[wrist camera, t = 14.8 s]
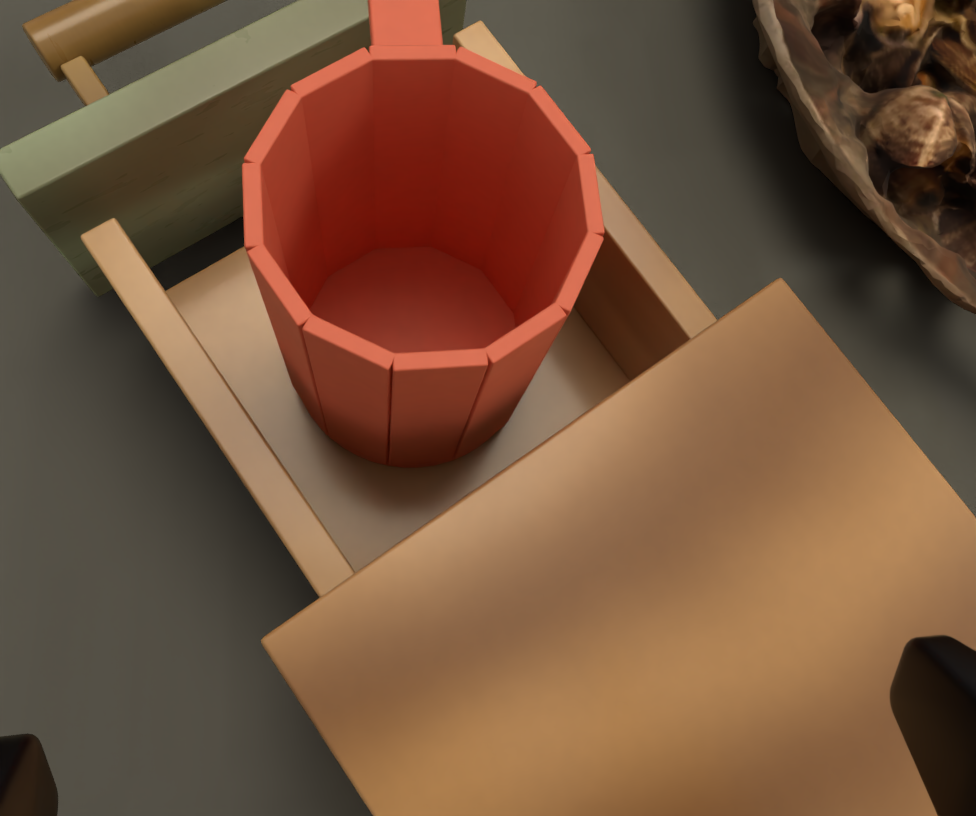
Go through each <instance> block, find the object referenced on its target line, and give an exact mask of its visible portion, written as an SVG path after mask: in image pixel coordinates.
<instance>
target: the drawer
mask: <svg viewBox="0 0 976 816" xmlns="http://www.w3.org/2000/svg"><path fill="white" fill-rule="evenodd" d="M225 1H227V0H73V1H71V2H69V3H67V4H65V5H62V6H60V7H58V8H56V9H54V10H52V11H50V12H47V13H45V14H43V15H41V16H39V17H37V18H34V19H32V20H30V21H28V22H26V23H24V24H23V25H22V27H23V30H24V32H25V34H26V35H27V37H28V39H29V40H30V42H31V44H32V45H33V47H34V48H35V50H36V52H37V53H38V55H39V56H40V58H41V59H42V61H43V62H44V64H45V65H46V67H47V68H48V70H49V71H50V73H51V74H52V76H53V77H54V78H55V80H57V81H58V82H61V81H63V80H65V79H67V81H68V82H69V84H70V85H71V87H72V88H73V90H74V91H75V93H76V94H77V96H78V97H79V98H80V100H81V101H82V103H83V104H84V106H85V107H83V108H81V109H79V110H77V111H75V112H73V113H71V114H69V115H67V116H65V117H63V118H61V119H59V120H57V121H55V122H53V123H51V124H49V125H47V126H45V127H43V128H41V129H39V130H37V131H35V132H33V133H31V134H29V135H27V136H25V137H23V138H21V139H19V140H17V141H15V142H13V143H11V144H9V145H7V146H5V147H3V148H1V149H0V175H1V177H2V178H3V180H4V181H5V183H6V184H7V186H8V187H9V189H10V190H11V192H12V193H13V195H14V196H15V198H16V199H17V201H18V202H19V203H20V204H21V205H22V207H23V208H24V209H25V210H26V211H27V213H28V214H29V215H30V216H31V218H32V219H33V220H34V221H35V222H36V224H37V225H38V226H39V227H40V229H41V230H42V231H43V232H44V233H45V235H46V236H47V237H48V238H49V239H50V241H51V242H52V243H53V244H54V246H55V247H56V248H57V249H58V250H59V252H60V253H61V254H62V255H63V256H64V258H65V259H66V260H67V261H68V263H69V264H70V265H71V266H72V267H73V269H74V270H75V271H76V272H77V273H78V275H79V276H80V277H81V278H82V280H83V281H84V282H85V283H86V284H87V286H88V287H89V288H90V289H91V291H92V292H93V293H94V294H95V295H96V296H97V297H99V296H101V295H103V294H105V293H106V292H108V291H110V290H112V289H114V290H115V291H116V293H117V294H118V296H119V297H120V299H121V300H122V302H123V303H124V305H125V306H126V308H127V309H128V311H129V312H130V314H131V315H132V317H133V318H134V320H135V321H136V323H137V324H138V326H139V327H140V329H141V330H142V332H143V333H144V335H145V336H146V338H147V339H148V341H149V342H150V344H151V345H152V347H153V348H154V350H155V351H156V353H157V354H158V356H159V357H160V359H161V360H162V362H163V363H164V365H165V366H166V368H167V369H168V371H169V372H170V374H171V375H172V377H173V378H174V380H175V381H176V383H177V384H178V386H179V387H180V389H181V390H182V392H183V393H184V395H185V396H186V398H187V399H188V401H189V402H190V404H191V405H192V407H193V408H194V410H195V411H196V413H197V414H198V416H199V417H200V419H201V420H202V422H203V423H204V425H205V426H206V428H207V429H208V431H209V432H210V434H211V435H212V437H213V438H214V440H215V441H216V443H217V444H218V446H219V447H220V449H221V450H222V452H223V453H224V455H225V456H226V458H227V459H228V461H229V462H230V464H231V465H232V467H233V468H234V470H235V471H236V473H237V474H238V476H239V478H240V479H241V481H242V482H243V484H244V485H245V487H246V488H247V490H248V491H249V493H250V494H251V496H252V497H253V499H254V500H255V502H256V503H257V505H258V506H259V508H260V509H261V511H262V512H263V514H264V515H265V517H266V518H267V520H268V521H269V523H270V524H271V526H272V527H273V529H274V530H275V532H276V533H277V535H278V536H279V538H280V539H281V541H282V542H283V544H284V545H285V547H286V548H287V550H288V551H289V553H290V554H291V556H292V557H293V559H294V560H295V562H296V563H297V565H298V566H299V568H300V569H301V571H302V572H303V574H304V575H305V577H306V578H307V580H308V581H309V583H310V584H311V586H312V587H313V589H314V590H315V592H316V593H317V595H318V596H319V598H320V597H321V596H323V595H324V594H326V593H327V592H328V591H330V590H331V589H333V588H334V587H336V586H337V585H338V584H340V583H341V582H343V581H344V580H346V579H347V578H349V577H350V576H351V575H353V574H354V573H356V572H357V571H359V570H360V569H361V568H363V567H364V566H366V565H367V564H369V563H370V562H371V561H373V560H374V559H376V558H377V557H379V556H380V555H381V554H383V553H384V552H386V551H387V550H389V549H390V548H392V547H393V546H394V545H396V544H397V543H399V542H400V541H402V540H403V539H404V538H406V537H407V536H409V535H410V534H412V533H413V532H414V531H416V530H417V529H419V528H420V527H422V526H423V525H425V524H426V523H427V522H429V521H430V520H432V519H433V518H435V517H436V516H437V515H439V514H440V513H442V512H443V511H445V510H446V509H447V508H449V507H450V506H452V505H453V504H455V503H456V502H457V501H459V500H460V499H462V498H463V497H465V496H466V495H468V494H469V493H470V492H472V491H473V490H475V489H476V488H478V487H479V486H480V485H482V484H483V483H485V482H486V481H488V480H489V479H490V478H492V477H493V476H495V475H496V474H498V473H499V472H501V471H502V470H503V469H505V468H506V467H508V466H509V465H511V464H512V463H513V462H515V461H516V460H518V459H519V458H521V457H522V456H523V455H525V454H526V453H528V452H529V451H531V450H532V449H534V448H535V447H536V446H538V445H539V444H541V443H542V442H544V441H545V440H546V439H548V438H549V437H551V436H552V435H554V434H555V433H556V432H558V431H559V430H561V429H562V428H564V427H565V426H566V425H568V424H569V423H571V422H572V421H574V420H575V419H577V418H578V417H579V416H581V415H582V414H584V413H585V412H587V411H588V410H589V409H591V408H592V407H594V406H595V405H597V404H598V403H599V402H601V401H602V400H604V399H605V398H607V397H608V396H610V395H611V394H612V393H614V392H615V391H617V390H618V389H620V388H621V387H622V386H624V385H625V384H627V383H628V382H630V381H631V380H632V379H634V378H635V377H637V376H638V375H640V374H641V373H642V372H644V371H645V370H647V369H648V368H650V367H651V366H653V365H654V364H655V363H657V362H658V361H660V360H661V359H663V358H664V357H665V356H667V355H668V354H670V353H671V352H673V351H674V350H675V349H677V348H678V347H680V346H681V345H683V344H684V343H686V342H687V341H688V340H690V339H691V338H693V337H694V336H696V335H697V334H698V333H700V332H701V331H703V330H704V329H706V328H707V327H708V326H710V325H711V324H713V323H714V322H716V321H717V319H716V318H715V316H714V315H713V314H712V313H711V311H710V310H709V309H708V308H707V306H706V305H705V304H704V302H703V301H702V300H701V299H700V297H699V296H698V295H697V294H696V292H695V291H694V290H693V289H692V287H691V286H690V285H689V283H688V282H687V281H686V280H685V278H684V277H683V276H682V275H681V273H680V272H679V271H678V270H677V268H676V267H675V266H674V264H673V263H672V262H671V261H670V259H669V258H668V257H667V256H666V254H665V253H664V252H663V250H662V249H661V248H660V247H659V245H658V244H657V243H656V242H655V240H654V239H653V238H652V237H651V235H650V234H649V233H648V231H647V230H646V229H645V228H644V226H643V225H642V224H641V223H640V221H639V220H638V219H637V218H636V216H635V215H634V214H633V212H632V211H631V210H630V209H629V207H628V206H627V205H626V204H625V202H624V201H623V200H622V198H621V197H620V196H619V195H618V193H617V192H616V191H615V190H614V188H613V187H612V186H611V185H610V183H609V182H608V181H607V179H606V178H605V177H604V176H603V174H602V173H601V172H600V171H599V169H598V168H597V167H596V166H595V168H596V175H597V182H598V189H599V196H600V203H601V210H602V217H603V224H604V231H605V233H604V235H603V238H604V240H603V242H602V244H601V247H600V249H599V251H598V253H597V255H596V258H595V260H594V262H593V264H592V266H591V268H590V271H589V273H588V275H587V277H586V279H585V282H584V284H583V286H582V288H581V290H580V293H579V295H578V297H577V299H576V301H575V303H574V306H573V308H572V310H571V312H570V314H569V315H568V317H567V319H566V321H565V323H564V324H563V326H562V328H561V330H560V331H559V333H558V335H557V337H556V338H555V340H554V342H553V344H552V345H551V347H550V349H549V351H548V352H547V354H546V356H545V358H544V359H543V361H542V363H541V365H540V366H539V368H538V370H537V372H536V373H535V375H534V377H533V379H532V380H531V382H530V384H529V386H528V387H527V389H526V391H525V393H524V394H523V396H522V398H521V400H520V401H519V403H518V405H517V407H516V408H515V410H514V412H513V414H512V415H511V417H510V419H509V421H508V422H507V423H506V424H505V426H504V427H502V428H501V429H499V430H498V431H496V432H495V433H494V434H493V435H492V436H491V437H490V438H489V439H488V440H487V441H486V442H484V443H483V444H482V445H480V446H479V447H478V448H476V449H474V450H473V451H471V452H469V453H468V454H466V455H464V456H462V457H459V458H457V459H454V460H452V461H449V462H446V463H442V464H438V465H434V466H427V467H418V468H403V467H394V466H387V465H383V464H379V463H375V462H372V461H369V460H367V459H364V458H362V457H359V456H357V455H355V454H353V453H352V452H350V451H348V450H346V449H344V448H343V447H342V446H340V445H339V444H338V443H336V442H335V441H334V440H332V439H331V438H330V437H329V436H328V435H326V434H325V433H324V431H323V430H322V429H321V428H320V427H319V426H318V424H317V423H316V422H315V421H314V419H313V418H312V417H311V415H310V414H309V412H308V410H307V409H306V407H305V405H304V403H303V401H302V399H301V398H300V396H299V395H298V393H297V392H296V390H295V389H294V387H293V385H292V383H291V380H290V377H289V374H288V371H287V368H286V365H285V362H284V359H283V357H282V354H281V351H280V348H279V345H278V342H277V339H276V336H275V333H274V331H273V328H272V325H271V322H270V319H269V316H268V313H267V310H266V307H265V305H264V302H263V299H262V296H261V293H260V290H259V287H258V284H257V281H256V279H255V276H254V273H253V270H252V267H251V264H250V261H249V258H248V255H247V252H246V249H245V246H244V247H242V248H240V249H238V250H237V251H235V252H233V253H231V254H230V255H228V256H226V257H224V258H222V259H221V260H219V261H217V262H215V263H214V264H212V265H210V266H208V267H207V268H205V269H203V270H201V271H200V272H198V273H196V274H194V275H193V276H191V277H189V278H187V279H186V280H184V281H182V282H180V283H179V284H177V285H175V286H173V287H171V288H170V289H168V290H166V291H165V290H164V289H163V287H162V286H161V284H160V283H159V281H158V280H157V278H156V277H155V275H154V274H153V272H152V271H151V269H150V268H151V267H153V266H155V265H157V264H158V263H160V262H162V261H164V260H165V259H167V258H169V257H171V256H173V255H174V254H176V253H178V252H180V251H182V250H183V249H185V248H187V247H189V246H191V245H192V244H194V243H196V242H198V241H199V240H201V239H203V238H205V237H207V236H208V235H210V234H212V233H214V232H216V231H217V230H219V229H221V228H223V227H225V226H226V225H228V224H230V223H232V222H233V221H235V220H237V219H239V218H241V217H242V216H243V188H242V164H243V163H245V162H244V157H245V155H246V153H247V152H248V150H249V149H250V147H251V145H252V144H253V142H254V141H255V139H256V137H257V136H258V134H259V133H260V131H261V129H262V128H263V126H264V124H265V123H266V121H267V120H268V118H269V116H270V115H271V113H272V112H273V110H274V108H275V107H276V105H277V104H278V102H279V100H280V99H281V97H282V95H283V94H284V92H285V91H286V90H287V89H288V90H290V91H291V87H290V86H291V85H292V84H294V83H296V82H298V81H300V80H302V79H304V78H306V77H307V76H309V75H311V74H313V73H315V72H317V71H319V70H321V69H323V68H325V67H327V66H329V65H330V64H332V63H334V62H336V61H338V60H340V59H342V58H344V57H346V56H348V55H350V54H352V53H354V52H355V51H357V50H359V49H361V48H363V47H365V48H366V49H367V51H368V52H369V47H370V46H371V39H370V26H369V13H368V0H297V1H295V2H293V3H291V4H289V5H287V6H285V7H283V8H281V9H279V10H277V11H275V12H273V13H271V14H269V15H267V16H265V17H263V18H261V19H259V20H257V21H255V22H253V23H251V24H249V25H247V26H245V27H243V28H241V29H239V30H237V31H235V32H233V33H231V34H229V35H227V36H225V37H223V38H221V39H219V40H217V41H215V42H213V43H211V44H209V45H207V46H205V47H203V48H201V49H199V50H197V51H195V52H193V53H191V54H189V55H187V56H185V57H183V58H181V59H179V60H177V61H175V62H173V63H171V64H169V65H167V66H165V67H163V68H161V69H159V70H157V71H155V72H153V73H151V74H149V75H147V76H145V77H143V78H141V79H139V80H137V81H135V82H133V83H131V84H129V85H127V86H125V87H123V88H121V89H119V90H117V91H115V92H113V93H111V94H109V92H108V91H107V90H106V88H105V87H104V85H103V84H102V82H101V81H100V79H99V78H98V77H97V75H96V74H95V72H94V71H93V69H92V68H91V67H92V66H94V65H96V64H98V63H100V62H102V61H104V60H106V59H108V58H110V57H112V56H114V55H116V54H118V53H120V52H122V51H125V50H127V49H129V48H131V47H133V46H135V45H137V44H139V43H141V42H143V41H145V40H147V39H149V38H151V37H153V36H155V35H157V34H159V33H161V32H163V31H166V30H168V29H170V28H172V27H174V26H176V25H178V24H180V23H182V22H184V21H186V20H188V19H190V18H192V17H194V16H196V15H198V14H200V13H202V12H204V11H207V10H209V9H211V8H213V7H215V6H217V5H219V4H221V3H223V2H225ZM465 8H466V0H439V9H440V19H441V29H442V39H443V45H455V47H456V52H457V50H458V48H459V47H463V48H465V49H468V50H470V51H472V52H474V53H476V54H478V55H480V56H483V57H485V58H487V59H489V60H491V61H493V62H495V63H497V64H500V65H502V66H504V67H506V68H508V69H510V70H512V71H515V72H517V73H519V74H521V75H523V76H525V75H524V74H523V73H522V72H521V70H520V69H519V68H518V67H517V65H516V64H515V63H514V62H513V60H512V59H511V58H510V56H509V55H508V54H507V53H506V51H505V50H504V49H503V48H502V46H501V45H500V44H499V42H498V41H497V40H496V39H495V37H494V36H493V35H492V34H491V32H490V31H489V30H488V29H487V27H486V26H485V25H484V23H483V22H482V21H478V22H476V23H474V24H472V25H470V26H469V27H467V28H465V29H463V23H464V15H465Z"/></svg>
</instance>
